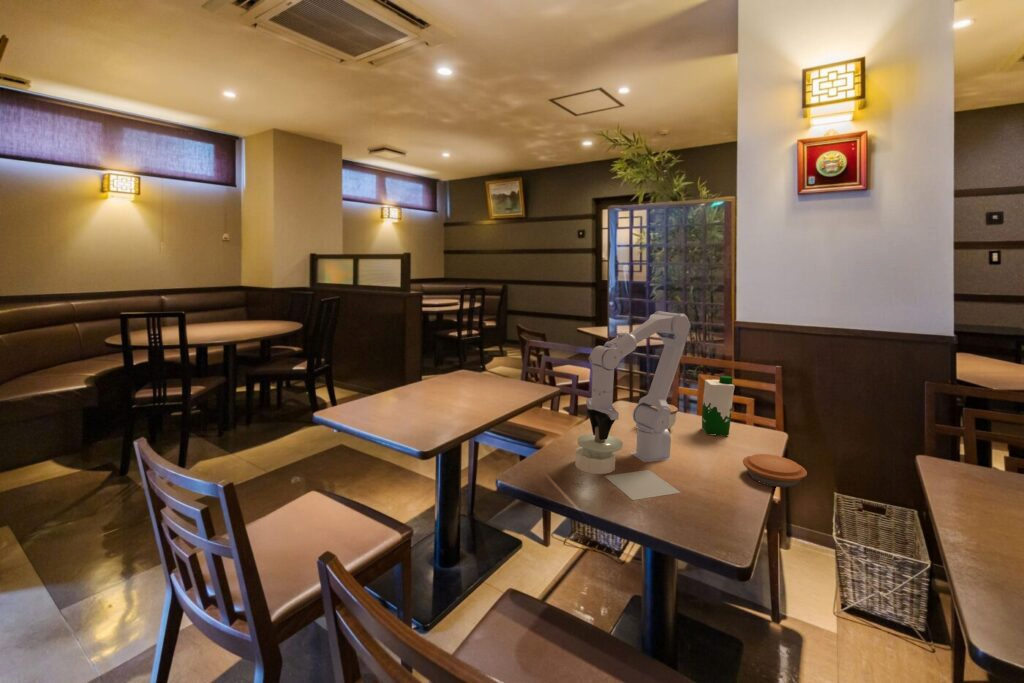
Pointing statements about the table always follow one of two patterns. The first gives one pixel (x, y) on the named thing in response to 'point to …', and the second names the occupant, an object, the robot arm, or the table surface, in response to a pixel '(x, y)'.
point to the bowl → (595, 461)
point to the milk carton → (717, 405)
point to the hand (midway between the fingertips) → (600, 437)
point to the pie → (774, 470)
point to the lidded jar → (671, 415)
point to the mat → (641, 484)
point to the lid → (599, 442)
